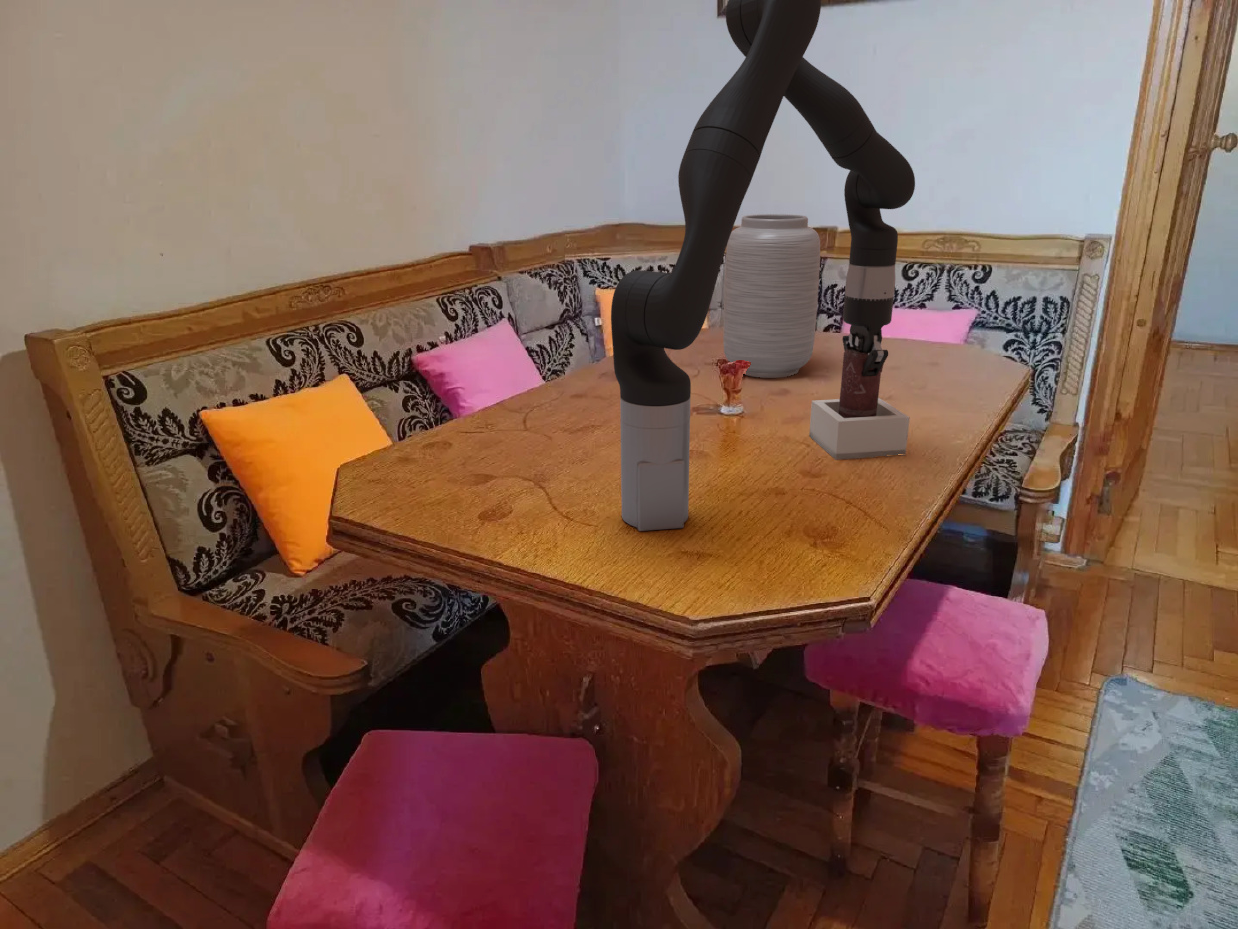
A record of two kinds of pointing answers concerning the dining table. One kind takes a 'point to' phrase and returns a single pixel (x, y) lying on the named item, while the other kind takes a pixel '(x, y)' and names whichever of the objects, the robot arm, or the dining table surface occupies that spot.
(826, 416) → the well
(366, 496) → the dining table surface
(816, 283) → the vase
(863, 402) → the can
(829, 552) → the dining table surface
